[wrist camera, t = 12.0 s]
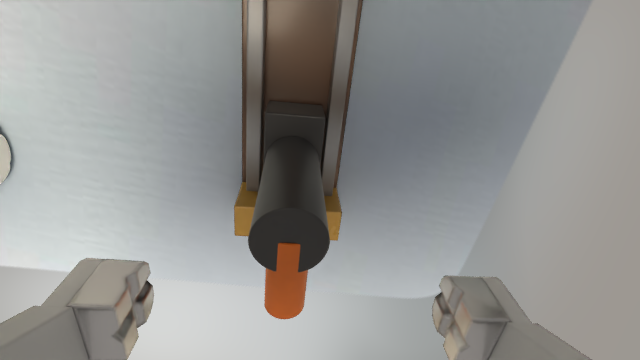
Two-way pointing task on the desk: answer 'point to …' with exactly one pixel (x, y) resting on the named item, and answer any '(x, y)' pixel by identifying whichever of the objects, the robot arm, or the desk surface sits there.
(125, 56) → the desk surface
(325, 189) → the rail
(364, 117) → the desk surface
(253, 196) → the block
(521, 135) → the desk surface
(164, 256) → the desk surface
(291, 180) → the nozzle
